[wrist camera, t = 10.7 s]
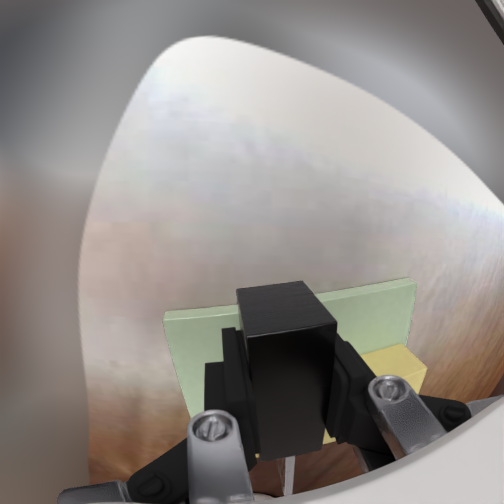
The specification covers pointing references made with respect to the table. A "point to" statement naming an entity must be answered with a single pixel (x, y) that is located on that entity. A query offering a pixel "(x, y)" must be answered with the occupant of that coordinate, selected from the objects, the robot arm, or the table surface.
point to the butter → (393, 368)
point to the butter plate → (336, 302)
